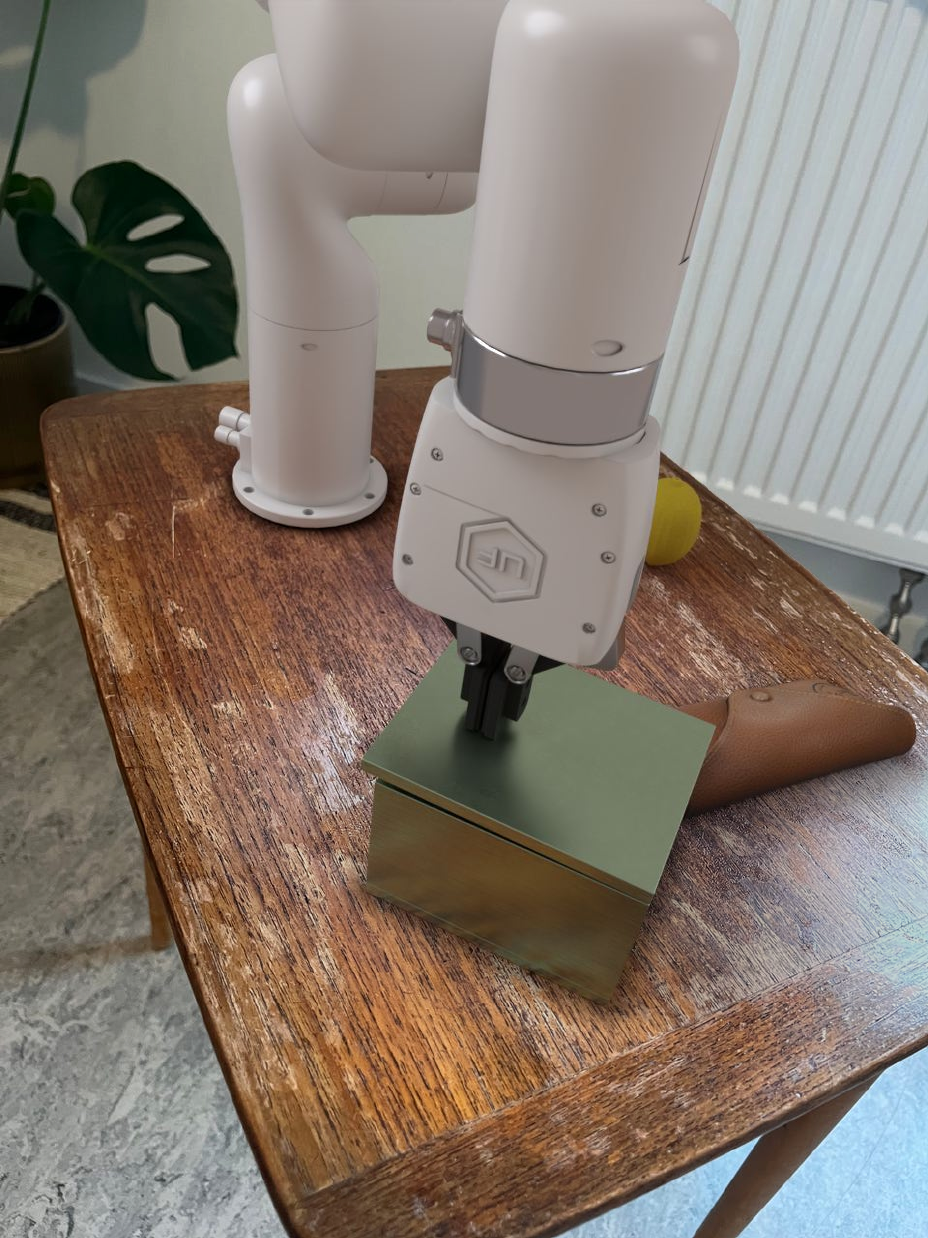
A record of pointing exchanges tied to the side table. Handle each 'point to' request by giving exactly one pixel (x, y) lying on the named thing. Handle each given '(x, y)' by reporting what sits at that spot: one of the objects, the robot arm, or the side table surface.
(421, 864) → the bin
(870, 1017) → the side table surface
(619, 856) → the bin lid
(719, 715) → the sunglasses case
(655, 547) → the lemon
